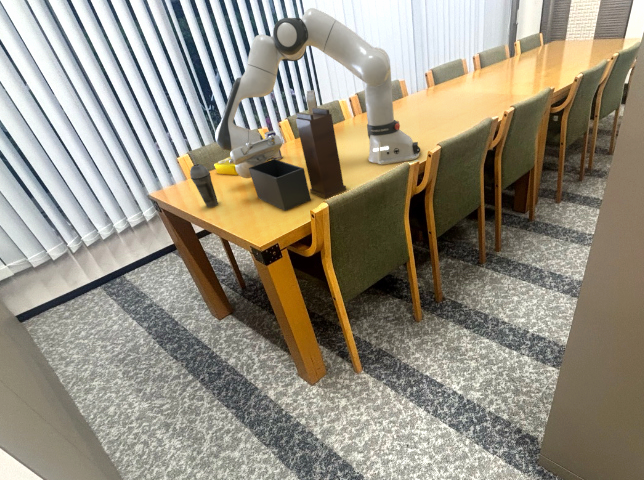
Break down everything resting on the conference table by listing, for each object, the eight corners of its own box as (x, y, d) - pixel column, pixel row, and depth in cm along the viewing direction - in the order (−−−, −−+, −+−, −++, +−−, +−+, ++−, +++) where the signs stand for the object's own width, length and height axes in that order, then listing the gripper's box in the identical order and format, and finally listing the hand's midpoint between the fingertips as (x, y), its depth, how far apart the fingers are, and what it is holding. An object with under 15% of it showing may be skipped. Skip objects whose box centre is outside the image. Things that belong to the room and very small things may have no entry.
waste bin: (258, 198, 155) (248, 168, 147) (282, 188, 160) (274, 158, 152) (285, 211, 141) (276, 178, 134) (311, 200, 146) (303, 168, 138)
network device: (311, 131, 226) (302, 91, 213) (326, 128, 226) (318, 88, 213) (311, 143, 206) (301, 99, 193) (327, 140, 206) (319, 96, 193)
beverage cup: (205, 210, 152) (182, 157, 139) (202, 205, 157) (179, 152, 144) (223, 205, 154) (202, 151, 141) (219, 199, 159) (199, 147, 146)
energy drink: (279, 160, 190) (272, 133, 182) (269, 161, 191) (262, 134, 184) (283, 156, 194) (276, 130, 186) (273, 157, 195) (266, 131, 187)
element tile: (238, 175, 180) (234, 165, 177) (215, 174, 187) (211, 163, 184) (259, 164, 189) (256, 153, 186) (237, 163, 196) (233, 153, 193)
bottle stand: (310, 193, 152) (292, 113, 134) (331, 184, 156) (316, 106, 138) (325, 198, 145) (308, 116, 127) (346, 189, 149) (332, 108, 131)
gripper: (224, 156, 147) (230, 140, 135) (270, 140, 156) (280, 124, 144) (232, 172, 149) (240, 158, 137) (278, 156, 157) (289, 141, 145)
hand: (261, 140), depth 140 cm, fingers open, 8 cm apart
